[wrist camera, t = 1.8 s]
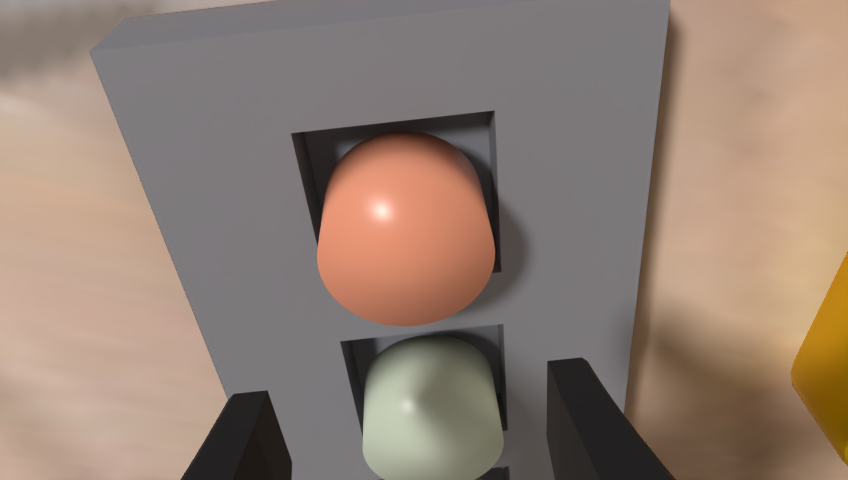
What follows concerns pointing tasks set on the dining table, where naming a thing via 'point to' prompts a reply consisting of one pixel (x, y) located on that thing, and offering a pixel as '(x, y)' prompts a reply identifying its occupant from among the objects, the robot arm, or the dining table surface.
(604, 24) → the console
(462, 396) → the button sage
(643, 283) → the dining table surface
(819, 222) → the dining table surface
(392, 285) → the button terracotta
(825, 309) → the element tile
